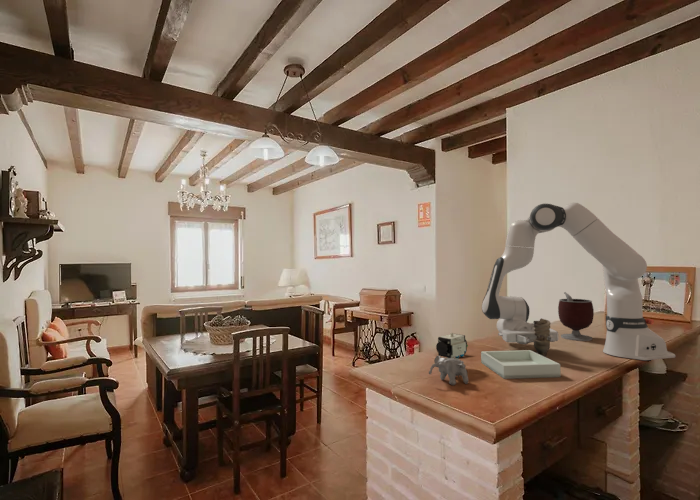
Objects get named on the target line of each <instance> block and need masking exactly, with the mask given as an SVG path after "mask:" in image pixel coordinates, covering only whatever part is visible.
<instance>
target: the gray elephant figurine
mask: <svg viewBox="0 0 700 500" xmlns="http://www.w3.org/2000/svg"><path fill="white" fill-rule="evenodd" d="M446 358H447V357H443V356H438V355H436V356H435V358H434V363H433V364H431V367H430V369H429V371H428V374H429V375H432V373H433V370H434V368H438V372H439V373H440V376H439V377H440V380H441V381H444V380H445V379H446V377H447V376H448V379H449V381H448V384H449V385H451V386H455V385H456V384H457V381H456V377H458V378H460V376H461V377H462V381H463V383H464V384H465V385H467V384H469V377H468V372H467V371H468V370H467V369H466V364H464V363H465V362H464V361H463V360H461V359H459V360H458V359H453V358H450V359H446Z"/></svg>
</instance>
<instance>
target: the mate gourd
mask: <svg viewBox="0 0 700 500" xmlns="http://www.w3.org/2000/svg"><path fill="white" fill-rule="evenodd" d="M563 294H564V295H565V298H561V299H559V301H558V307H557V309H558V310H557V313H558V319H559V322H561V325H563V326H564V327H567V328H568V329H570V330H572V331H571V333H563V334H560V338H562V339H563V340H564V339H565V340H569V341H577V342H579V341H580V342H589V341H592V340H593V337H592V336H589V335H586V334H581V331H582V330H584V329H587V328H589V327H590V326H591V324H592V323H593V322H594V317H595V316H594V305H593V300H590V299H585V298H584V299H582V298H572V296H571V295H570V294H569V293H567V292H566V291H565V292H563ZM580 330H581V331H580Z"/></svg>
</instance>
